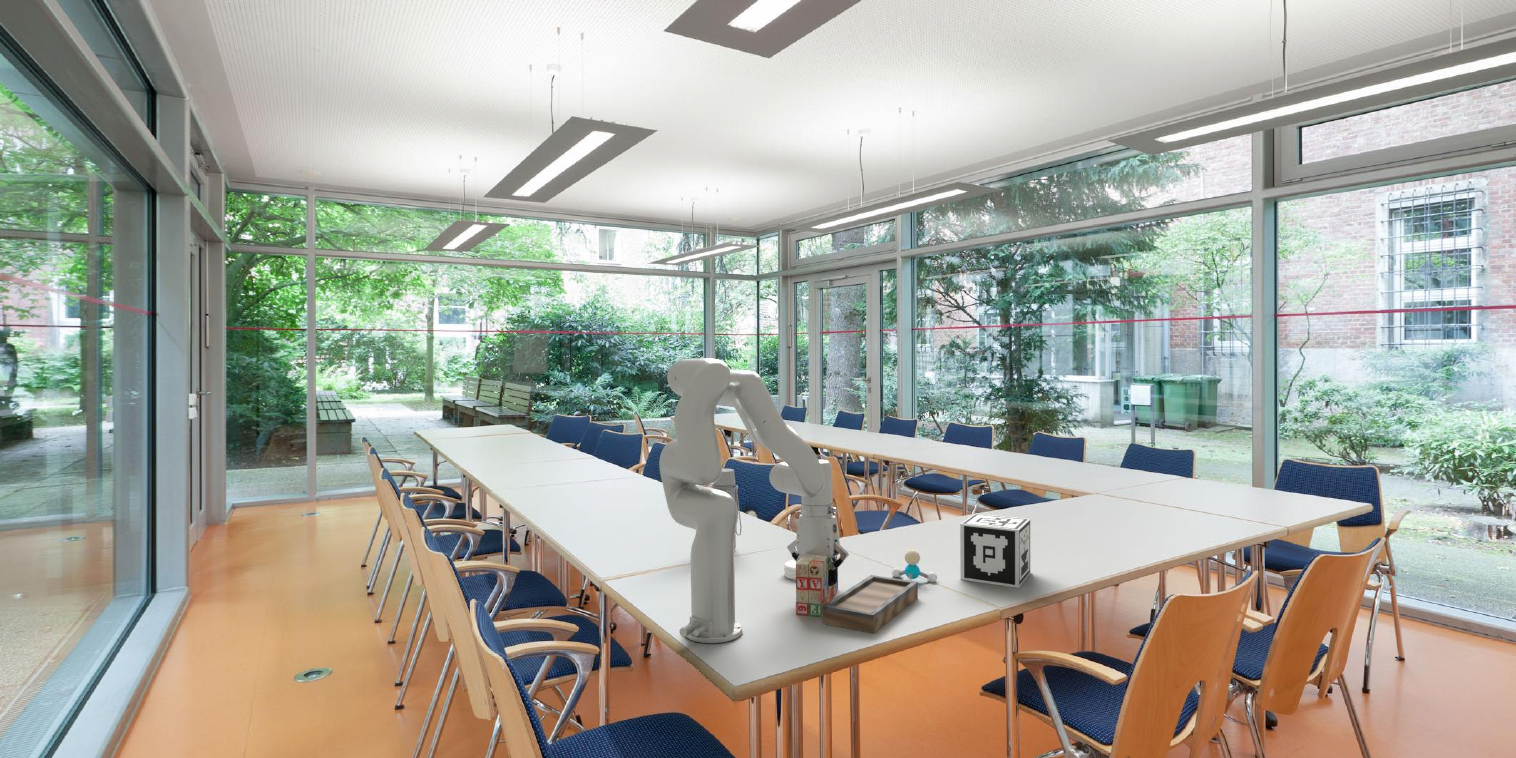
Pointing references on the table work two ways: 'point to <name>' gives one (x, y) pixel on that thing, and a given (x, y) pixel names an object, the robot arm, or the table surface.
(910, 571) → the molecule model
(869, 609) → the wooden tray
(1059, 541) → the table surface
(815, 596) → the stack of blocks
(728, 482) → the water bottle
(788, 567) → the coaster
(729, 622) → the robot arm
